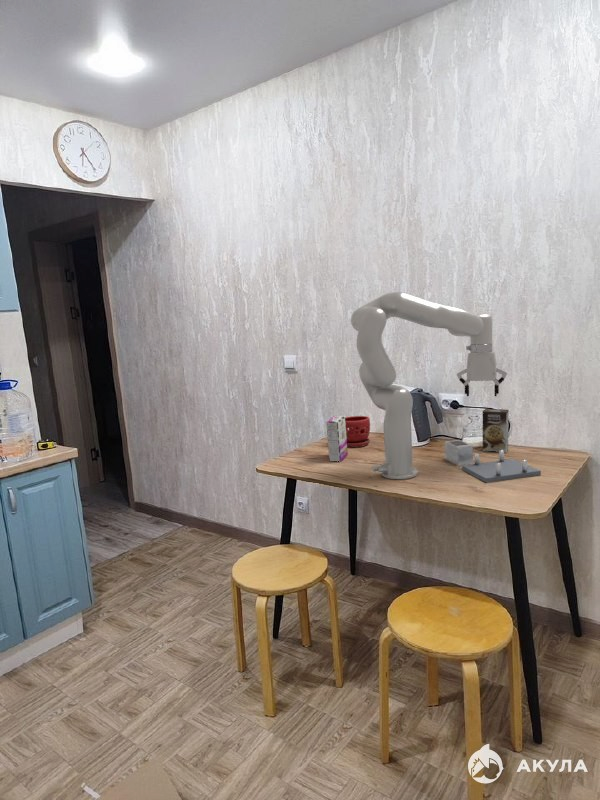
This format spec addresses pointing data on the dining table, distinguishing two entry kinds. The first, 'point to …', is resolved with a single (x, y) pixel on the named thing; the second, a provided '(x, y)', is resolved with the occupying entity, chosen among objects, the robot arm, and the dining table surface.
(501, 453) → the guide pins
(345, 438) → the candy bar box
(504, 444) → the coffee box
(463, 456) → the block
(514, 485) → the dining table surface
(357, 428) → the plant pot
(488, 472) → the pin board
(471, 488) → the dining table surface
